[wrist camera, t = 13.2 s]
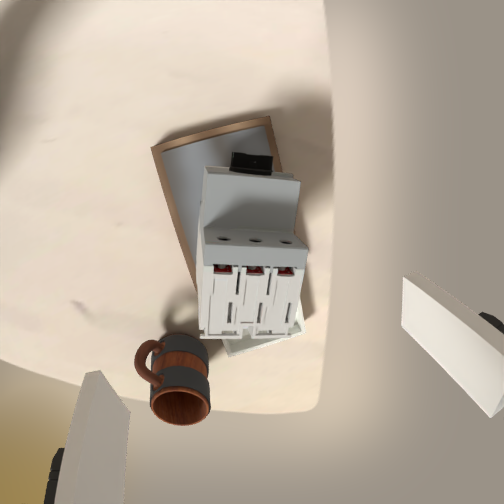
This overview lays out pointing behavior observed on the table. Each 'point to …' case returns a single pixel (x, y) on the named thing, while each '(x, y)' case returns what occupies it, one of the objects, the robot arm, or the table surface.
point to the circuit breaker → (248, 250)
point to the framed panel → (192, 171)
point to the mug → (176, 378)
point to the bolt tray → (250, 344)
